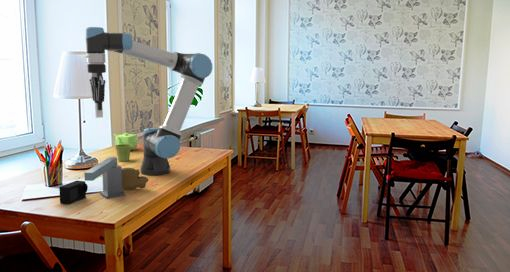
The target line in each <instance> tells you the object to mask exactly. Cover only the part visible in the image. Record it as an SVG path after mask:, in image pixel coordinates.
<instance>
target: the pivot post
mask: <svg viewBox="0 0 510 272" xmlns="http://www.w3.org/2000/svg"><path fill="white" fill-rule="evenodd" d="M99 194H100V195H101V196H103V197H104V198H105V199H111V198H112V199H113V198H118V197H123V196H124V197H125V196H126V192H124V191H123V189H122V166H121V165H120V164H117V165H116V166H113V167H112V168H110V169H109V170H108V171H106V172H105V173H103V174H102V190H101V191H99Z"/></svg>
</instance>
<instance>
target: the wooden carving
mask: <svg viewBox="0 0 510 272" xmlns="http://www.w3.org/2000/svg"><path fill="white" fill-rule="evenodd" d="M121 169H122V190H124V191H132V190H135V189H136V190H137V188H139V189H146V186H147V183H148V182H149V178H148V177H146V176H145V175H144V176H143V175H140V174H141V171H140V169H135V168H133V167H123V168H122V167H121Z"/></svg>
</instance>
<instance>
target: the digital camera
mask: <svg viewBox="0 0 510 272" xmlns="http://www.w3.org/2000/svg"><path fill="white" fill-rule="evenodd" d="M87 192H88V184H87V183H86V181H85V180H75V181H72V182H69V183H66V184H63V185H60V186H59V203H60V204H62V205H71V204H73V203H76V202H78V201H81V200H84V199H85V198H86V197H87V195H86V194H87Z"/></svg>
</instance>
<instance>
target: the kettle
mask: <svg viewBox="0 0 510 272" xmlns="http://www.w3.org/2000/svg"><path fill="white" fill-rule="evenodd" d="M112 135H113V136H114V137H115V145H119V144H130V145H132V147H131V150H130V151H134V150H135V148H137V147H138V140H139V137H138V135H137V134H130V133H128V132H124V133H121V134H115V133H114V134H113V133H112Z"/></svg>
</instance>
